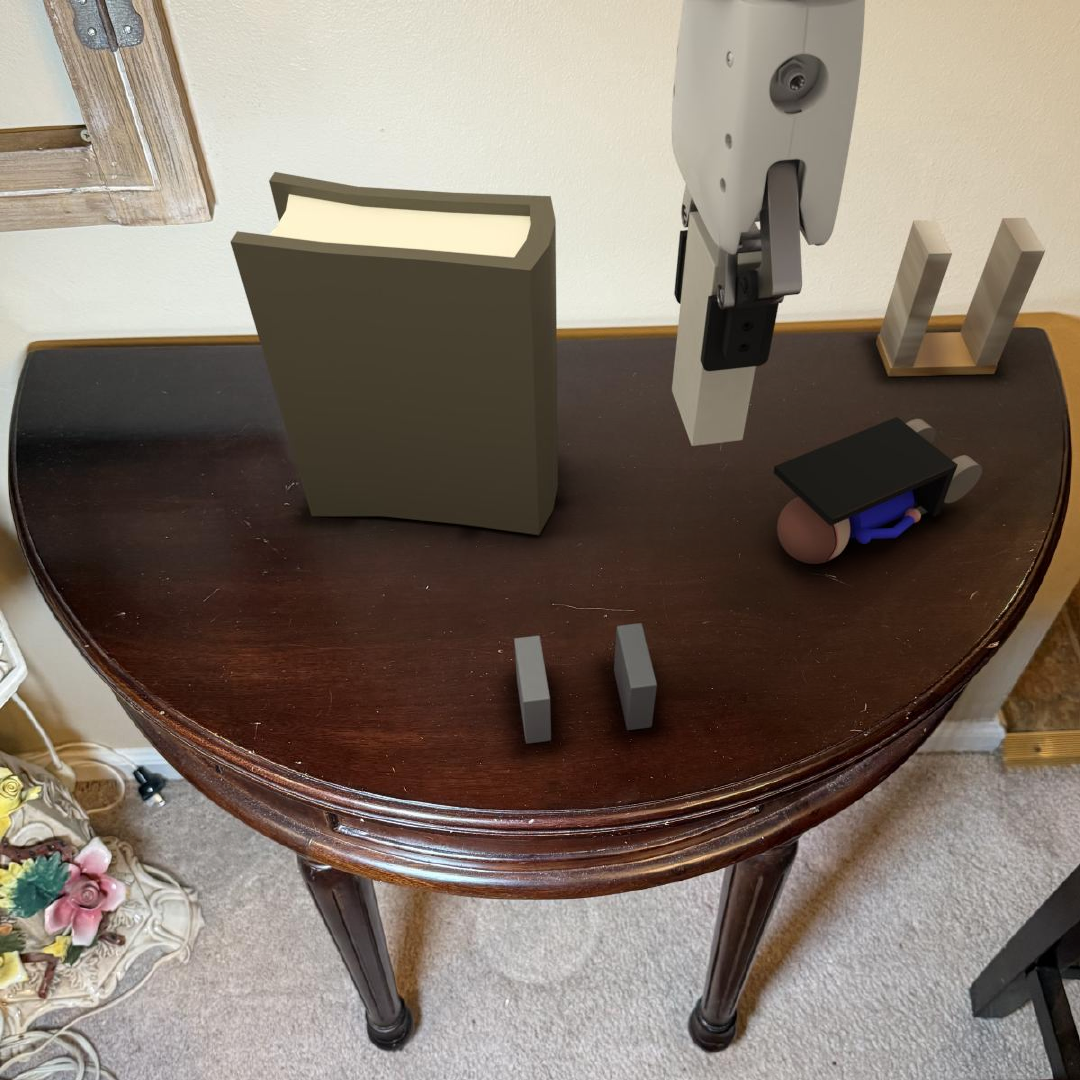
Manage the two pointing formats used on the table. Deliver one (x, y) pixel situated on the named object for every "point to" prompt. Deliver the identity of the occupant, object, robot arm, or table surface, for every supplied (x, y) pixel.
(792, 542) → the figurine character
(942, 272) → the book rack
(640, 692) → the grey rectangular blocks
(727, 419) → the beige rectangular block
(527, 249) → the book
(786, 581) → the table surface
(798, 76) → the robot arm
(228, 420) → the table surface
